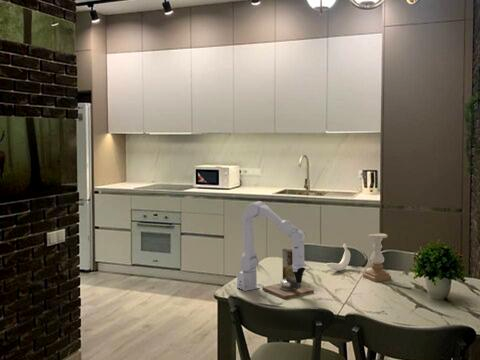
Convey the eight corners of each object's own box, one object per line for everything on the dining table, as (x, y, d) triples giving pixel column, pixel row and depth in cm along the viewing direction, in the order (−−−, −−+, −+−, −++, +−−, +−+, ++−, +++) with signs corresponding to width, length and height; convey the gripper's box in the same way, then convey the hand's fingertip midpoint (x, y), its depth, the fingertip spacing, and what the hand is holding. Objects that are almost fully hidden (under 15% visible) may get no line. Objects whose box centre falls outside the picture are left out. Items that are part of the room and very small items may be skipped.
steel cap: (278, 285, 259) (278, 277, 258) (289, 283, 262) (289, 275, 262) (293, 291, 248) (293, 283, 248) (304, 289, 251) (304, 281, 251)
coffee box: (299, 277, 282) (299, 248, 281) (299, 281, 276) (299, 251, 274) (282, 277, 283) (282, 248, 281) (282, 280, 276) (282, 250, 275)
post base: (285, 299, 245) (285, 294, 245) (262, 290, 260) (262, 285, 260) (313, 292, 255) (313, 288, 255) (290, 284, 270) (290, 279, 270)
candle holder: (391, 279, 277) (392, 235, 275) (374, 282, 273) (375, 237, 271) (379, 274, 287) (379, 232, 285) (362, 276, 283) (362, 233, 281)
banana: (326, 272, 292) (326, 247, 291) (345, 266, 306) (345, 242, 304) (333, 274, 289) (333, 248, 287) (352, 268, 302) (352, 243, 301)
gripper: (302, 259, 243) (303, 287, 244) (309, 252, 257) (310, 279, 258) (288, 258, 246) (288, 286, 247) (296, 251, 259) (296, 278, 260)
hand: (298, 282), depth 253 cm, fingers closed, pressing on steel cap
